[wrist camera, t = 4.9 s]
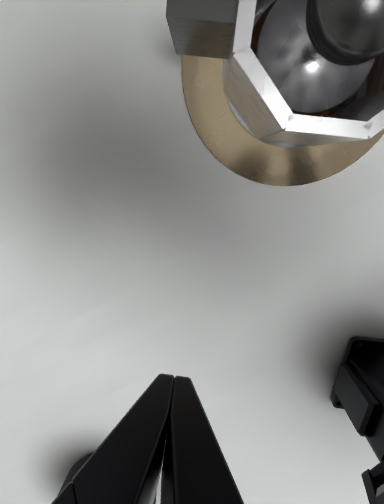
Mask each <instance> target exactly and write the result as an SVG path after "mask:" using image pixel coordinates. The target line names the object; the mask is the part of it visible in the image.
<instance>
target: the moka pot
mask: <svg viewBox="0 0 384 504" xmlns="http://www.w3.org/2000/svg"><path fill="white" fill-rule="evenodd" d="M276 1H277V0H167V8H166V18H167V22H168V25H169V29H170V33H171V36H172V40H173V43H174V47H175V51H176V54H181V55H183V57H182V78H183V89H184V95H185V99H186V104H187V108H188V111H189V114H190V117H191V120H192V122H193V124H194V126H195V128H196V130H197V132H198V135H199V136H200V138H201V139H202V141H203V142H204V144H205V145H206V147H207V148H208V149H209V150H210V151H211V152H212V154H213V155H214V156H215V157H216V158H217V159H218V160H219V161H221V162H222V163H223V164H224V165H225V166H226V167H228V168H229V169H231V170H232V171H234V172H235V173H237V174H239V175H241V176H243V177H245V178H248V179H250V180H253V181H256V182H259V183H263V184H269V185H276V186H293V185H303V184H307V183H312V182H316V181H319V180H321V179H324V178H327V177H330V176H332V175H334V174H336V173H338V172H340V171H342V170H343V169H345V168H346V167H348V166H349V165H351V164H353V163H354V162H355V161H357V160H358V159H359V158H360V157H362V156H363V155H364V154H365V153H366V152H368V151H369V149H370V148H371V147H372V146H373V145H374V144H375V143H376V142H377V141H378V140H379V139H380V138H381V136H382V135H383V134H384V52H383V53H382V54H380V55H378V56H377V57H375V60H374V63H373V65H372V67H371V70H370V72H369V73H368V75H367V77H366V79H365V80H364V81H363V83H362V84H361V86H360V87H359V88H358V89H357V90H356V91H355V92H354V93H353V94H352V95H351V96H350V97H349V98H347V99H346V100H345V101H343V102H342V103H340V104H338V105H336V106H334V107H332V108H330V109H327V110H325V111H322V112H318V113H311V114H301V113H295V112H292V111H291V109H290V108H289V106H288V105H287V103H286V102H285V100H284V99H283V97H282V96H281V94H280V93H279V91H278V90H277V88H276V86H275V85H274V83H273V82H272V80H271V79H270V77H269V76H268V74H267V73H266V71H265V70H264V68H263V67H262V65H261V64H260V62H259V60H258V59H257V57H256V54H257V44H258V39H259V35H260V32H261V29H262V27H263V24H264V22H265V20H266V18H267V15H268V14H269V12H270V10H271V8H272V7H273V5H274V4H275V3H276Z"/></svg>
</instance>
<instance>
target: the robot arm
mask: <svg viewBox="0 0 384 504" xmlns="http://www.w3.org/2000/svg"><path fill="white" fill-rule="evenodd" d="M358 342H359V344H357V345H355V344H356V343H358ZM173 385H174V386H173ZM333 389H334V390H333V393H332V396H331V402H332V404H333V406H334V407H336V408H341V409H345V411H346V412H347V414H348V416H349V418H350V420H351V421H352V423H353V425H354V427H355V429H356V430H357V432H358V433H359V434H360V436H365V437H366V439H367V440H368V442H369V444H370V446H371V447H372V449H373V451H374V453H375V454H376V456H377V458H378V459H379V461H380V463H379V464H377V465H376V466H375V467H373V468H372V469H371V470H369V469H367V470H366V471H365V472H363V473H362V478H363V482H364V485H365V489H366V493H367V496H368V500H369V503H370V504H384V339H376V338H367V337H359V336H356V337H353V338H351V339H350V341H349V344H348V347H347V350H346V353H345V356H344V359H343V362H342V363H341V365H340V368H339V371H338V374H337V377H336V381H335V384H334V387H333ZM337 401H338V402H337ZM166 435H167V436H166ZM165 442H166V443H165ZM164 449H165V450H164ZM163 456H164V458H163ZM162 462H163V466H162ZM161 468H162V478H161V503H160V504H244V502H243V500H242V498H241V495H240V493H239V491H238V488H237V486H236V484H235V481H234V479H233V477H232V474H231V472H230V470H229V467H228V465H227V463H226V460H225V458H224V456H223V453H222V451H221V449H220V446H219V444H218V442H217V439H216V437H215V435H214V432H213V430H212V428H211V425H210V423H209V420H208V418H207V416H206V413H205V411H204V409H203V406H202V404H201V402H200V399H199V397H198V395H197V392H196V390H195V388H194V385H193V383H192V381H191V379H190V378H189V377H183V376H176V377H175V379H174V376H173V375H169V374H159V375H158V376H157V377H156V378H155V380H154V381H153V382H152V383H151V384H150V386H149V387H148V388H147V389H146V391H145V392H144V393H143V394H142V395H141V397H140V398H139V399H138V400H137V401H136V403H135V404H134V405H133V406H132V407H131V409H130V410H129V411H128V412H127V413H126V415H125V416H124V417H123V418H122V419H121V421H120V422H119V423H118V424H117V425H116V427H115V428H114V429H113V430H112V431H111V433H110V434H109V435H108V436H107V437H106V439H105V440H104V441H103V442H102V443H101V445H100V446H99V447H98V448H97V450H96V451H95V452H94V453H93V454H92V456H91V457H90V458H89V459H88V460H87V462H86V463H85V464H84V465H83V466H82V468H81V469H80V470H79V471H78V472H77V474H76V475H75V476H74V477H73V478H72V483H71V482H69V483H68V484H67V485H66V487H65V488H64V489H63V490H62V491H61V493H60V494H59V495H58V496H57V497H56V499H55V500H54V501H53V502H52V503H51V504H153V502H154V498H155V494H156V490H157V486H158V482H159V478H160V473H161Z"/></svg>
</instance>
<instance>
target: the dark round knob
mask: <svg viewBox="0 0 384 504" xmlns="http://www.w3.org/2000/svg"><path fill="white" fill-rule="evenodd" d="M383 52H384V0H277V1H276V3H275V4H274V5H273V7H272V8H271V10H270V12H269V14H268V15H267V18H266V20H265V22H264V24H263V27H262V29H261V32H260V35H259V39H258V44H257V54H256V57H257V59H258V60H259V62H260V64H261V65H262V67H263V68H264V70H265V71H266V73H267V74H268V76H269V77H270V79H271V80H272V82H273V83H274V85H275V86H276V88H277V90H278V91H279V93H280V94H281V96H282V97H283V99H284V100H285V102H286V103H287V105H288V106H289V108H290V109H291V111H292V112H295V113H301V114H311V113H318V112H322V111H325V110H327V109H330V108H332V107H334V106H336V105H338V104H340V103H342V102H343V101H345V100H346V99H347V98H349V97H350V96H351V95H352V94H353V93H354V92H355V91H356V90H357V89H358V88H359V87H360V86H361V84H362V83H363V81H364V80H365V79H366V77H367V75H368V73H369V72H370V70H371V67H372V65H373V63H374V60H375V57H377V56H378V55H380V54H382V53H383Z"/></svg>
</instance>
